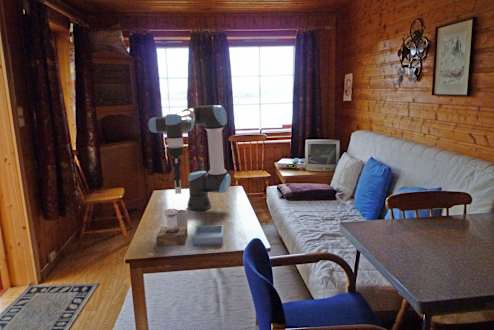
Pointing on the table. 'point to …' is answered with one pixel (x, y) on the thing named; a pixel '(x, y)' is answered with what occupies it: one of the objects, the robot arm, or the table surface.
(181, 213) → the cup
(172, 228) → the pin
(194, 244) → the tray
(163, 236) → the socket block
